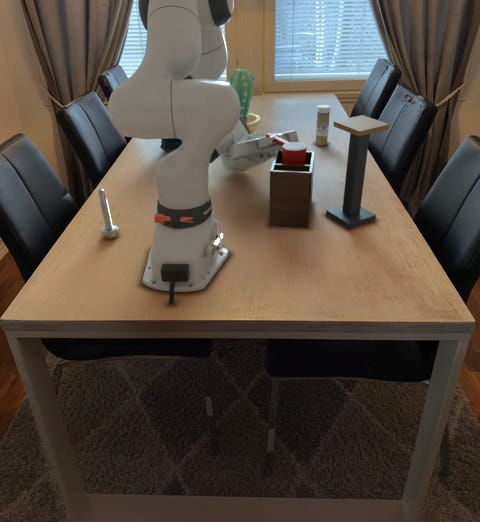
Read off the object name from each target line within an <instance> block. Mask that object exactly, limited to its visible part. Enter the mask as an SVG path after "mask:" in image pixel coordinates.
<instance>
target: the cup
mask: <svg viewBox="0 0 480 522" xmlns="http://www.w3.org/2000/svg"><path fill="white" fill-rule="evenodd" d="M265 134H266V138H267V137H271V136H274V139H275V143H277V144H278V145H280V146H282V164H298V165H306V151H307V145H306V144H305V143H304V142H289V141H287V140H285V139H282V138H280V137H278V136H276V135H274V134H272V132H268V133H265Z"/></svg>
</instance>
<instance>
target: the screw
mask: <svg viewBox="0 0 480 522" xmlns="http://www.w3.org/2000/svg"><path fill="white" fill-rule="evenodd" d="M105 192H106V191H105V189H103V188H100V189H99V190H98V196H99V205H100V209H101V214H102V218H103V224H104V225H102V226H100V228H99V230H98V231H99V234H101V235H104V236H105V239H113V238H115V237H117V234H116V233H118V232H119V231H120V226H119V225H118V224H116V223H113V221H112V216H111V211H110V206H109V203H108V199H107V198H106V193H105Z"/></svg>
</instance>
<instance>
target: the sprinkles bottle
mask: <svg viewBox="0 0 480 522" xmlns="http://www.w3.org/2000/svg"><path fill="white" fill-rule="evenodd" d="M330 114H331V106H330V105H329V104H319V105H317V106H316V123H315V124H316V125H315V141H314V143H315V145H317V146H326V145H328V138H329V128H330Z"/></svg>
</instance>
